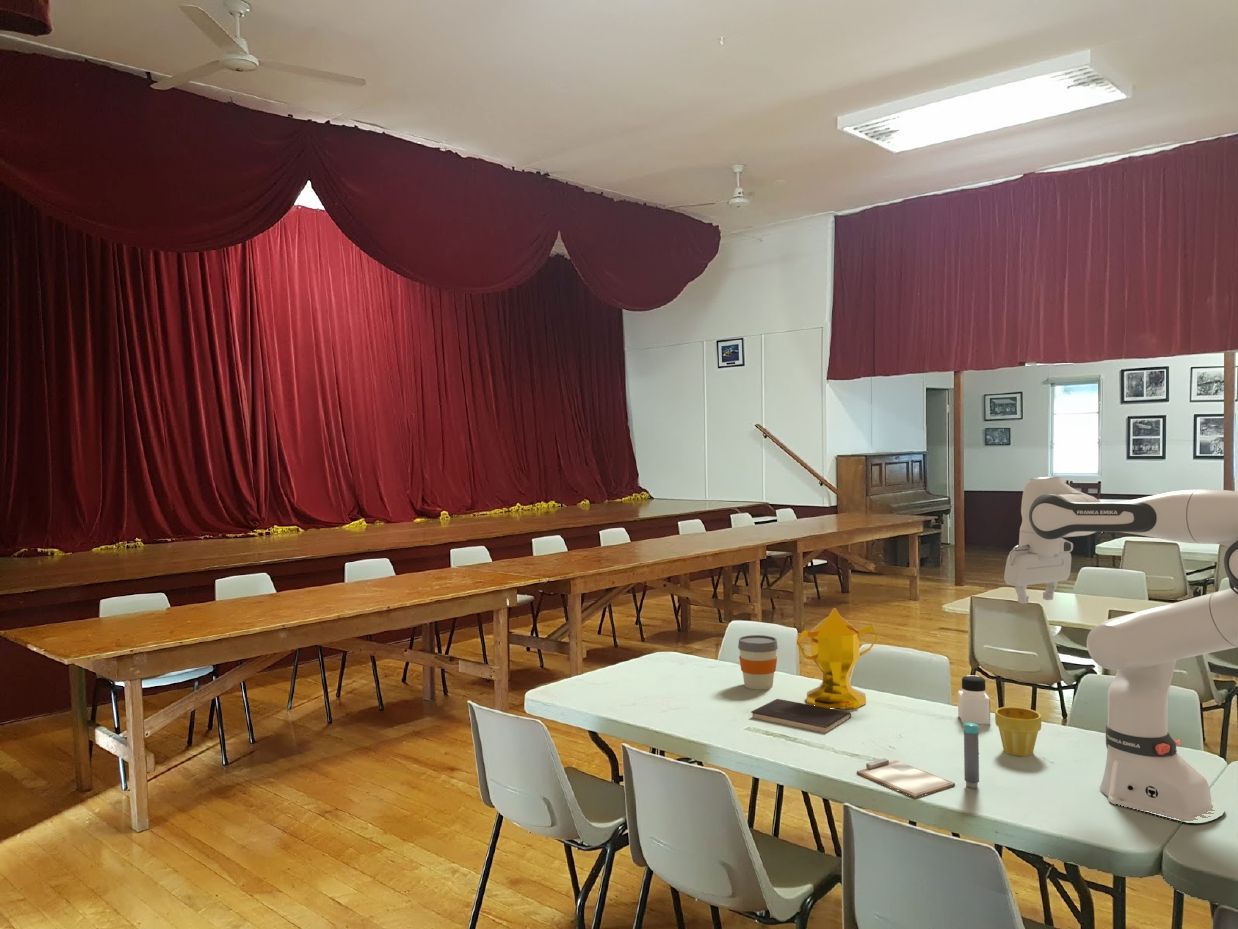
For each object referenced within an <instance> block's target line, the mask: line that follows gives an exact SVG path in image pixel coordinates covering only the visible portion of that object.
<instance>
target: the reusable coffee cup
mask: <svg viewBox="0 0 1238 929" xmlns="http://www.w3.org/2000/svg"><path fill="white" fill-rule="evenodd" d="M737 645H738V646H737V648H738V650H739V656H738V658H739V665H740V671H741V672H742V676H743V682H744V687H745V688H747V689H750V690H758V691H760V690H761V691H762V690H769V689H771V688H773V686H774V677H775V672H776V671H777V661H778V657H777V650H778V649H779V648H778V640H777V638H776V637H774V636H770V635H765V634H764V635H763V634H762V635H761V634H759V635H758V634H752V635H745V636H744V635H743V636H741V637H739V638H738V644H737Z"/></svg>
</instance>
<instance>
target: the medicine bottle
mask: <svg viewBox="0 0 1238 929" xmlns="http://www.w3.org/2000/svg"><path fill="white" fill-rule="evenodd" d="M957 714H958V717H959V719H960V720H961V722H962V724H964V723H975V724H978V725H990V724H991V699H990V697H989V696H988V694H987V693H986V679H985V678H984V677H982V676H979V675H971V674H970V675H969V674H968V675H965V676H963V677H962V678H961V690H958V691H957Z"/></svg>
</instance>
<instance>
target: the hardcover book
mask: <svg viewBox="0 0 1238 929" xmlns="http://www.w3.org/2000/svg"><path fill="white" fill-rule="evenodd" d="M750 713H751V714H752V718H753V719H758V720H763V721H767V722H771V723H772V722H773V723H777V724H782V725H785V726H791V727H796V728H801V729H804V730H805V729H807V730H810V729H812V730H811V731H816V732H821V733H825V732H826V733H828V732H830V731H831V730H833V729H835V728H836V727H837V725H838V724H839V725H840V723H841V722H843V721H844V722H846V721H847V720H849V719H850V718H849V717H851V718H852V714H851V712H850V711H845V710H842V709H830V708H824V707H819V706H814V705H811V704H809V703H807V704H806V703H803V702H797V701H791V700H786V699H780V698H776V699H773V700H772V701H770V702H768V703H765V704H764V705H762V706H760V707H758V708H755V709H753V710H752V711H750ZM848 718H849V719H848ZM846 719H847V720H846ZM845 720H846V721H845ZM844 722H843V723H844ZM841 724H842V723H841ZM839 725H838V726H839ZM835 726H836V727H835ZM832 728H833V729H832ZM830 729H831V730H830ZM829 730H830V731H829Z"/></svg>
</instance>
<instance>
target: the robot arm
mask: <svg viewBox="0 0 1238 929" xmlns="http://www.w3.org/2000/svg"><path fill="white" fill-rule="evenodd" d="M1020 506H1021V507H1020V513H1021V518H1022V519H1021V520H1022V521H1021V525H1020V527H1019V537H1018V538H1019V539H1018V545H1015V546H1013V548H1012V549H1011V551H1010V552H1009V554H1008V556H1007V557H1006V563H1005V568H1004V576H1003V580H1004V582H1005V584H1007V585H1010V586H1014V589H1015V592H1016V594H1017V602H1018V604H1023V605H1025V604H1028V603H1029V599H1030V598H1029V595H1027V593H1026V590H1028V586H1029V585H1031V586H1032V585H1038V584H1039V585H1040V584H1046V587H1045V589H1044V590H1045V591H1043V592H1042V599H1043V600H1045V601H1051V600H1054V593H1055V591H1056V589H1057V587H1058V583H1059V582H1063V581H1064V582H1065V581H1067V580H1068V579H1069V577H1070V575H1071V569H1072V554H1071V552H1072V551H1073V549H1074V543H1073V542H1071V541H1069V540H1067V539H1065V538H1070V537H1082V536H1083V537H1084V536H1089V535H1093V534H1096V533H1123V534H1131V535H1137V536H1144V537H1149V538H1155V539H1160V540H1166V541H1171V542H1179V543H1186V544H1199V545H1200V544H1203V545H1204V544H1205V545H1222V546H1225V547H1228V548H1227V550H1226V552H1225V554H1224V557H1223V566H1224V570H1225V573H1226V576H1227V578H1228V583H1229V587H1230V588H1227V589H1223V590H1222V589H1221V590H1219V591H1214V592H1211V593H1207V594H1204V595H1200V596H1196V597H1192V598H1189V599H1184V600H1181V601H1176V602H1173V603H1168V604H1165V605H1161V606H1156V607H1152V608H1148V609H1145V610H1140V611H1137V612H1136V611H1135V612H1133V613H1128V614H1125V615H1120V616H1117V617H1113V618H1109V619H1106V620H1105V621H1102V622H1101V623H1099V624H1097V625H1096V626H1095V627H1093V628H1092V629H1091V630H1090V631H1089V632H1088V634H1087V638H1086V648H1087V652H1088V654H1089V656H1090V659H1092V661H1094V663H1096V664H1097V665H1098V666H1099V667H1101V668H1103V669H1106V670H1110V671H1116V674H1115V677H1114V679H1113V681H1112V683H1111V684H1110V685H1109V687H1108V690H1107V724H1106V725H1105V746H1106V749H1107V750H1106V751H1107V752H1106V760H1105V767H1104V771H1103V772H1104V773H1103V777H1102V780H1101V783H1100V786H1099V790H1100V791H1101V792H1102V794H1104V795H1105V796H1106V797H1107V799H1108V802H1109V803H1110V802H1111V804H1113V805H1116V804H1118V805H1117V806H1120V805H1121V806H1120V807H1123V806H1124V807H1123V808H1127V807H1129V808H1128V809H1130V808H1135V809H1138V810H1143V811H1149V812H1152V813H1156V814H1161V815H1164V816H1167V817H1171V818H1176V819H1179V820H1181V821H1193V820H1198V819H1196V818H1195V817H1197V816H1200V817H1202V818H1208V817H1211V816H1208V817H1206V816H1204V815H1202V814H1214V813H1211V812H1208V811H1215V810H1213V809H1212V808H1213V804H1216V803H1213V801H1214V800H1212V795H1211V789H1210V785H1209V782H1208V780H1207V779H1206V778H1205V776H1204V775H1202V774H1201V773H1200V772H1199V771H1197V770H1196V769H1195V767H1193V766H1192V765H1191V764H1189V762H1187V761H1186V759H1184V758H1183V757H1182V756H1181V755H1180V754H1179V753H1178V751H1177V747H1179V746H1180V745H1182V744H1181V738H1180V739H1176V740H1174V739H1173V737H1171V734H1170V733H1169V731H1168V711H1169V710H1168V702H1169V701H1168V699H1169V693H1170V687H1171V682H1172V680H1173V675H1174V671H1175V668H1176V664H1177V661H1179V660H1180V661H1181V660H1184V659H1189V658H1193V657H1196V656H1197V657H1198V656H1202V655H1207V654H1211V653H1216V652H1222V651H1225V650H1231V649H1236V648H1238V490H1237V491H1235V490H1227V489H1212V488H1211V489H1208V488H1207V489H1205V488H1195V489H1194V488H1191V489H1190V488H1189V489H1182V490H1181V489H1179V490H1172V491H1167V492H1164V493H1158V494H1154V495H1148V496H1144V497H1140V498H1134V499H1129V500H1124V501H1114V502H1113V501H1109V502H1103V501H1101V500H1100V499H1098V498H1097V497H1096V496H1094V495H1091V494H1090V495H1089V494H1087V493H1084V492H1082V491H1079V490H1077V489H1075V488H1073V487H1071V486H1070V485H1069V484H1067V483H1066V482H1065V481H1064V480H1063V479H1062V478H1061V477H1060V476H1040V477H1033V478H1030V479H1029V480H1027V482H1026V483H1025V484H1024V487H1023V491H1022V498H1021V505H1020ZM1138 810H1137V811H1138ZM1207 812H1208V813H1207Z"/></svg>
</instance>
